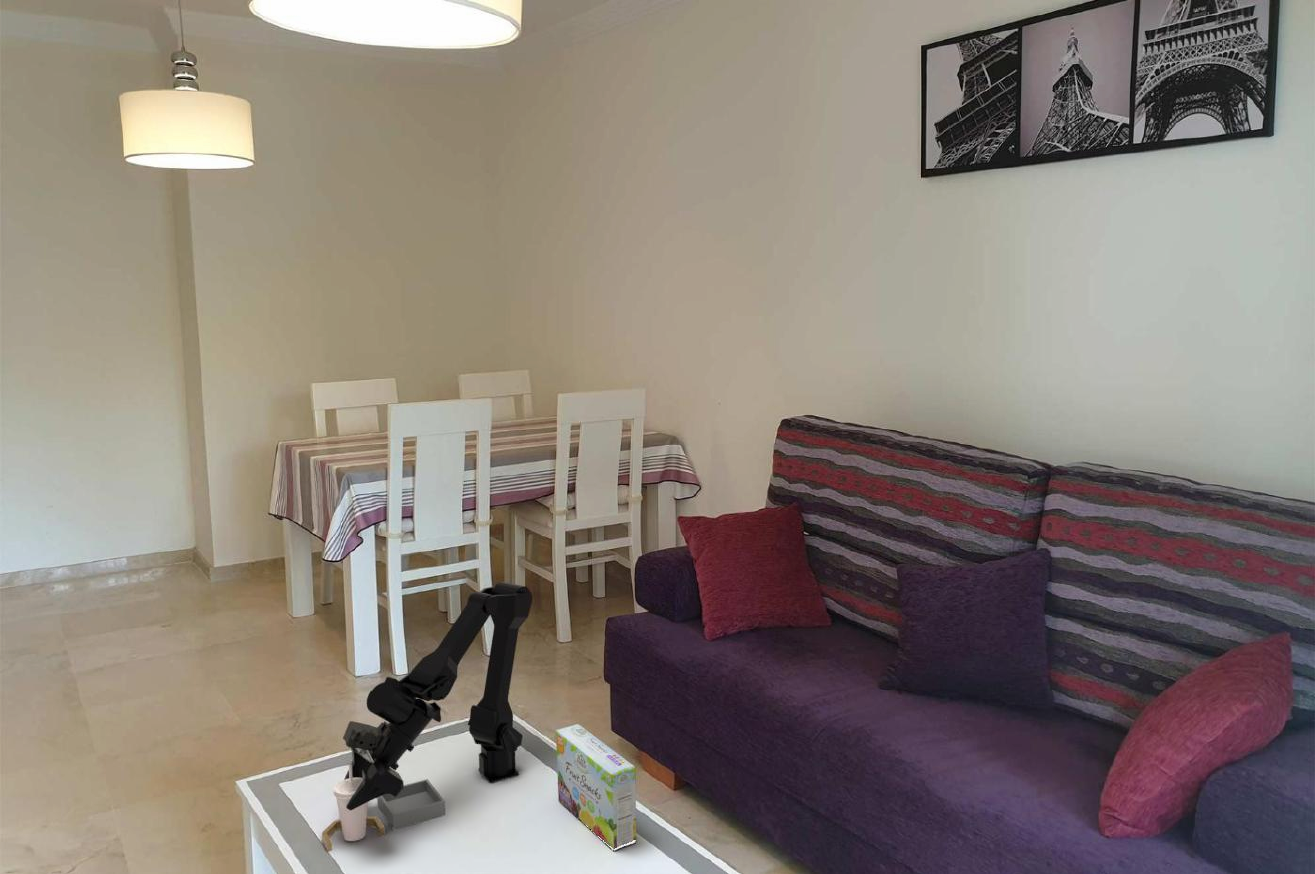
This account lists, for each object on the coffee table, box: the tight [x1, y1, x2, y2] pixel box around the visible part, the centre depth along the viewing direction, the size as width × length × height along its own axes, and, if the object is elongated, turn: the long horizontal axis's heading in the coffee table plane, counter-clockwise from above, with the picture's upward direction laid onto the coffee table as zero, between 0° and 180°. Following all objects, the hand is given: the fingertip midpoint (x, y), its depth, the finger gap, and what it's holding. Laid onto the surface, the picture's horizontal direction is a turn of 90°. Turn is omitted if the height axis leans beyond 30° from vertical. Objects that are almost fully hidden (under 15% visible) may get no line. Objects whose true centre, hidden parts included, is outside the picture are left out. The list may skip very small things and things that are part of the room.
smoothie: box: [333, 763, 369, 842], centre depth 182 cm, size 6×6×14 cm
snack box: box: [555, 723, 637, 849], centre depth 187 cm, size 21×6×15 cm, turn 34°
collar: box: [321, 815, 386, 852], centre depth 184 cm, size 10×7×2 cm
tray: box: [376, 778, 447, 830], centre depth 192 cm, size 10×10×3 cm
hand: (344, 800), depth 181 cm, fingers closed on smoothie, 6 cm apart
